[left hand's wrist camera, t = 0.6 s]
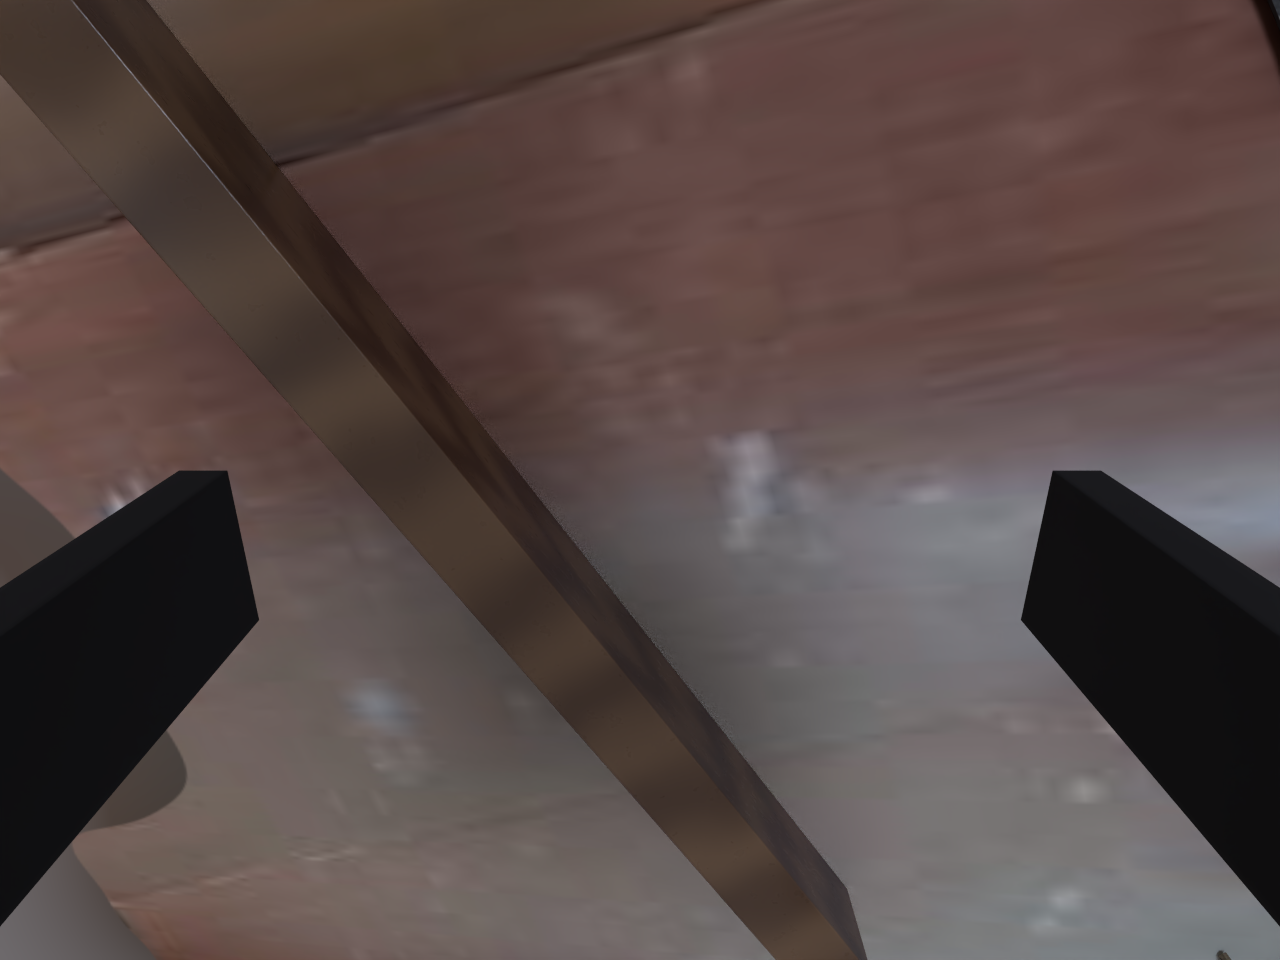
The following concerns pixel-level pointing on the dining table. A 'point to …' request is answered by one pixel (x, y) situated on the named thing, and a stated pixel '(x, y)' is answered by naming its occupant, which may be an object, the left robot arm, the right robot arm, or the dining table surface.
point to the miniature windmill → (1224, 956)
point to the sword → (1275, 10)
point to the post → (409, 442)
